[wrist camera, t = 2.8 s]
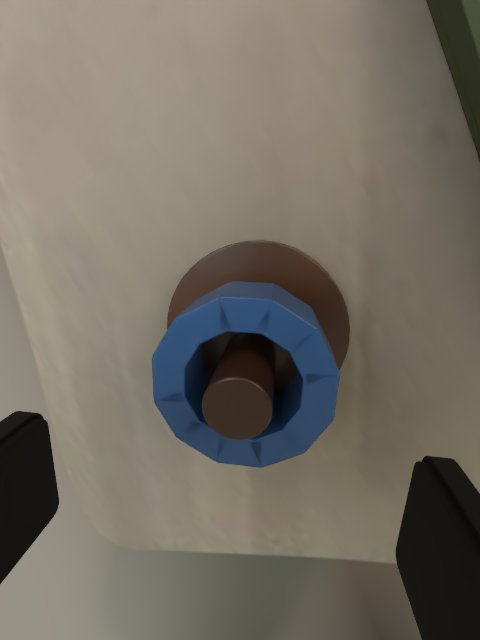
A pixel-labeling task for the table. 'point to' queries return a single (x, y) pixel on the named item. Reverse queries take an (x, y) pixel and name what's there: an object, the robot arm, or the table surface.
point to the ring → (288, 406)
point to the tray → (462, 52)
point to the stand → (250, 348)
